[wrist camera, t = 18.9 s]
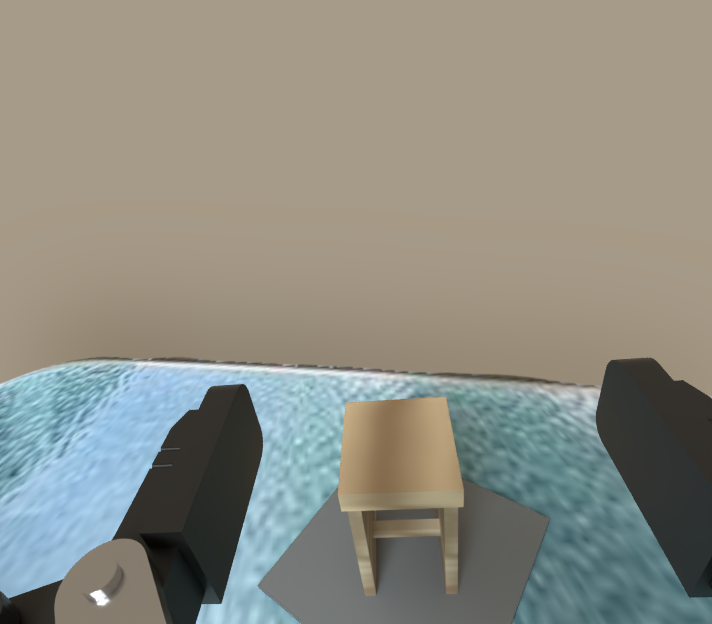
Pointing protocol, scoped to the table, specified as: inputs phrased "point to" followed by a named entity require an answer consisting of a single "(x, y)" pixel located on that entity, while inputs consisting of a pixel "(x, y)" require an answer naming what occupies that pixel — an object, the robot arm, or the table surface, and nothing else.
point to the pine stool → (400, 478)
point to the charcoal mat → (411, 567)
